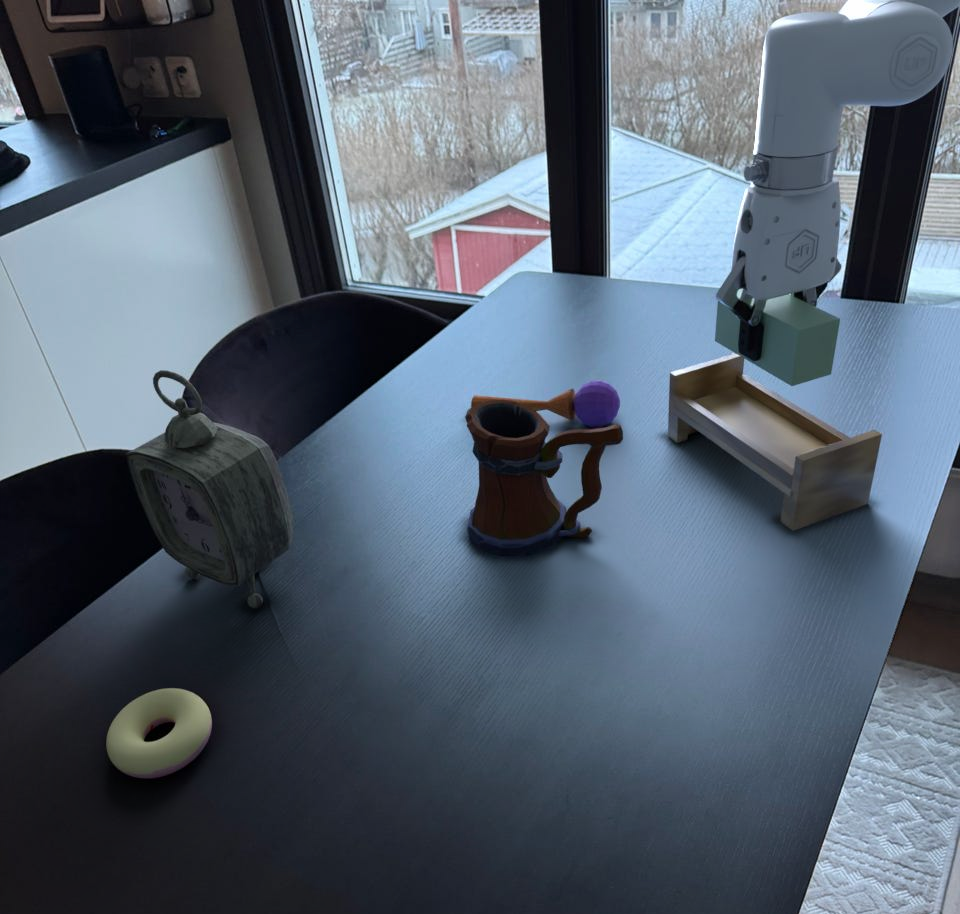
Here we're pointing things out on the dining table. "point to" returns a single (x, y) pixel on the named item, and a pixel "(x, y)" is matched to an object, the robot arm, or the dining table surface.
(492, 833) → the dining table surface
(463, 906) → the dining table surface
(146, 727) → the donut
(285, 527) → the tabletop clock
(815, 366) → the bar
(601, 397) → the purple ball wooden maraca
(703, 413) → the rack
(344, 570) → the dining table surface
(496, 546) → the mug
